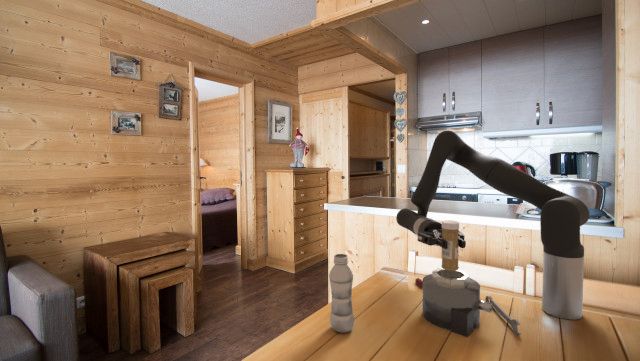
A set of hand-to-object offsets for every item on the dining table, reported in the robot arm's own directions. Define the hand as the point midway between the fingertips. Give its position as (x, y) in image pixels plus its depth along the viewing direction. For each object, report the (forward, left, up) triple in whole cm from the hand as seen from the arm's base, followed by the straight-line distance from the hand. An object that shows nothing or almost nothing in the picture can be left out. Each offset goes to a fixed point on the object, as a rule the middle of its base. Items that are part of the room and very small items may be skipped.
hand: (455, 244), depth 87 cm
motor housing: (-2, 0, -21) cm, 22 cm away
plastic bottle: (+24, -20, -22) cm, 38 cm away
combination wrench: (-11, +9, -22) cm, 26 cm away
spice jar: (-2, -2, -8) cm, 8 cm away
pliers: (-16, -12, -22) cm, 30 cm away
